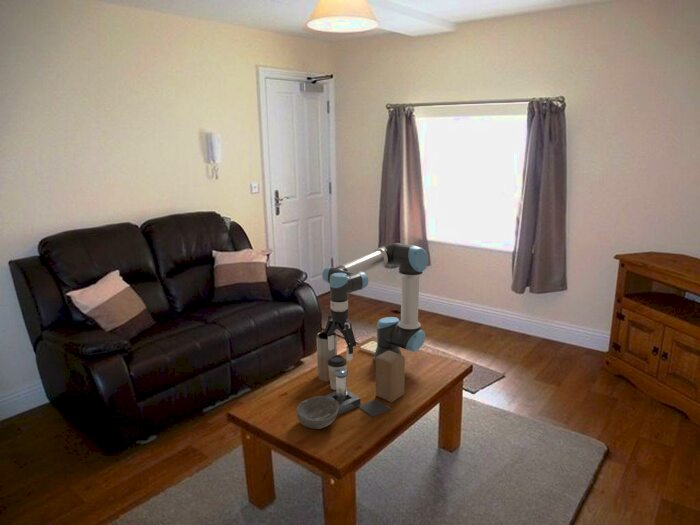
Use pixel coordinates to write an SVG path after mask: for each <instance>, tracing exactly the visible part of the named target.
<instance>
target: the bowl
mask: <svg viewBox="0 0 700 525" xmlns="http://www.w3.org/2000/svg"><path fill="white" fill-rule="evenodd" d="M323 396H324V395H323ZM323 396H322V395H317V396H313V397H310V398H307V399H305V400H303V401H301V402H300V403H299V404H298V405H297V407H296V410H295V412H296V418H297V419H298V421H299V422H300V424H301V425H303V426H305V427H306V428H309V429H317V430H321V429H323V428H326V427H328V426H331V425H332V424H333V423H334V421H335V419H337V415H339V414H338V411H339V405H338V404H337V403H336V402H335V401H333V400H332V399H329V398H326V397H323Z"/></svg>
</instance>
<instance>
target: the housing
mask: <svg viewBox="0 0 700 525" xmlns="http://www.w3.org/2000/svg"><path fill="white" fill-rule="evenodd" d="M323 397H326V398H329V399H332V400H333V401H335V402H336V403H337V404H338V405H339V411H338V414H337V415H341V414H345V412H348V411H350V410H353V409H355V408H357V407H358V408H359V406H361V405H362V404H361V402H362V401H361V397H359V396H358V395H356V394H355V393H354V392H351V390H348V389H347V400H346V401H343V402H341V403H340V402H338V401H337V400H336V390H335V391H332V392H331V393H327V394H325V395H323Z"/></svg>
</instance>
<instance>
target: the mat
mask: <svg viewBox="0 0 700 525" xmlns="http://www.w3.org/2000/svg"><path fill="white" fill-rule="evenodd" d="M358 409H360V410H361V411H363V412H364V413H366V414H367V415H369V416H371V417H372V418H375V417H377V416H379V415H381V414H383V413H385V412H387V411H390V410H391V408H390V407H389V406H387V405H386V404H384V403H382V402H381V401H379V400H378V399H372V400H371V401H368V402H366V403H363V404H361V405H360V406H358Z"/></svg>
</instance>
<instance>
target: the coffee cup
mask: <svg viewBox="0 0 700 525" xmlns="http://www.w3.org/2000/svg"><path fill="white" fill-rule="evenodd" d="M347 364H348V361H347V358H346V357H345V358H344V356H342V355H341V354H337V355H336V356H333V357H331V358H330V359H329V360H328V366H329V367H328V369H329V379H330V381H329V382H330V388H331V389H332V390H335V391H336V376H335V374H334V371H335V370H336V369H341V368H342V369H346V370H347Z"/></svg>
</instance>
